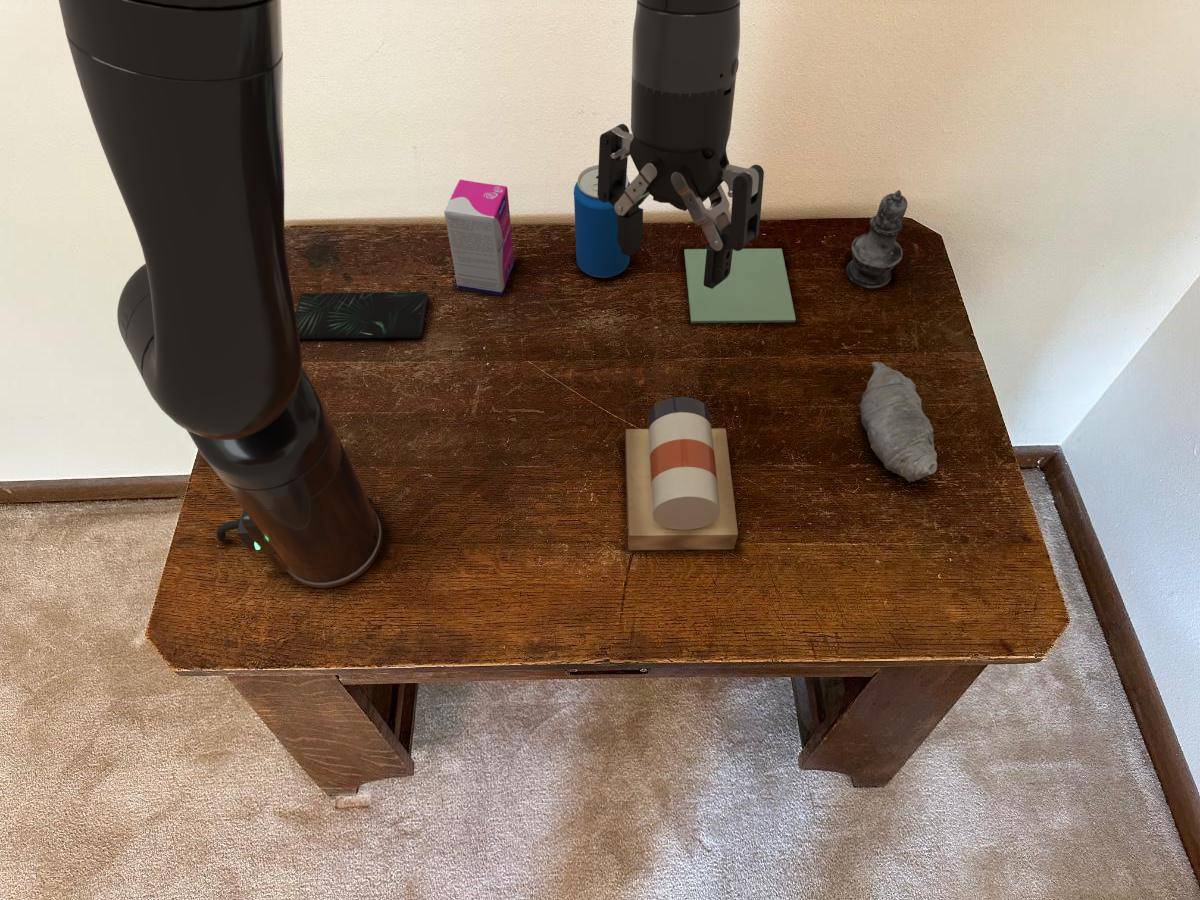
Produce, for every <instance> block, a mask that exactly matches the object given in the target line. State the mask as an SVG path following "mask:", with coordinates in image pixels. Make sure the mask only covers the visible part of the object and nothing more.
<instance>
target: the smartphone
mask: <svg viewBox="0 0 1200 900" xmlns="http://www.w3.org/2000/svg"><path fill="white" fill-rule="evenodd" d="M428 301H429V293H428V292H427V291H389V292H388V291H379V292H377V291H376V292H375V291H374V292H373V291H372V292H370V291H369V292H314V293H313V292H312V293H310V292H309V293H307V292H306V293H305V292H304V293H301V294H300V296H299V299H298V303H297V306H296V310H295V316H296V322H297V327H298V333H299V339H300V340H328V339H329V340H331V339H333V340H334V339H335V340H337V339H339V340H340V339H409V338H421V337H422V336H423V331H424V324H425V319H426V314H427V306H428Z"/></svg>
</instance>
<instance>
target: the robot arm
mask: <svg viewBox="0 0 1200 900" xmlns="http://www.w3.org/2000/svg"><path fill="white" fill-rule="evenodd" d="M58 4H59V8H60V9H59V10H60V13H61V17H62V22H63V28H64V31H65V36H66V40H67V43H68V46H69V47H68V48H69V51H70V54H71V57H72V61H73V65H74V67H75V72H76V74H77V75H76V76H77V77H78V81H79V85H80V87H81V90H82V95H83V97H84V100H85V102H86V107H87V108H88V112H89V114H90V118H91V121H92V123H93V126H94V129H95V132H96V134H97V137H98V140H99V143H100V146H101V148H102V150H103V153H104V156H105V158H106V160H107V163H108V166H109V169H110V170H111V173H112V176H113V178H114V180H115V183H116V185H117V187H118V190H119V193H120V196H121V197H122V200H123V202H124V204H125V205H124V206H125V207H126V209H127V212H128V214H129V216H130V219H131V222H132V225H133V227H134V230H135V233H136V235H137V238H138V241H139V244H140V247H141V250H142V254H143V259H144V262H145V263H144V264H142V265H141V266H140V267H139V268H138V269H136V271H135V272H134V273H133V274H132V275H131V276H130V277H129V279H128V280H127V281H126V284H125V285H124V287H123V288H122V291H121V293H120V295H119V299H118V303H117V310H116V311H117V313H116V316H117V327H118V330H119V333H120V337H121V338H122V341H123V342H124V345H125V347H126V348H127V351H128V352H129V354H130V356H131V358H132V360H133V362H134V365H135V367H136V368H137V371H138V372H139V375H140V377H141V379H142V380H143V382H144V384H145V387H146V389H147V391H148V393H149V395H150V396H151V398H152V399H153V400H154V402H155V403H156V405H157V407H159V409H160V410H161V411H162V412H163V413H164V414H165V415H167V416H168V417H169V418H170V419H171V420H172V421H173V422H174V423H175V424H176V425H178V426H180V427H181V428H182V429H185V430H186V432H187V433H188V436H189V437H190V438H191V441H193V443H194V445H195V446H196V448H197V450H198V451H199V453H200V455H201V456H202V458H203V459H204V460H205V462H206V463H207V464H208V466H209V467H210V468H211V469H212V471H213V472H214V474H215V475H216V476H217V478H219V480H220V481H221V483H222V484H223V485H224V487H225V488H226V489H227V491H228V492H229V493H230V494H231V495H232V497H233V498H234V500H235V501H236V503H237V504H238V505H239V507H240V508H241V509H242V512H241V516H240V519H235V520H231V521H227V522H225V523H223V524H221V525H219V526H218V528H217V529H216V539H217V541H218V542H224V541H225V540H226V538H227V535H226V532H228V531H231V530H235V529H237V530H236V535H237V536H238V538H240V540H241V541H242V542H243V544H244V545H245V546H246V547H247V548H248V550H256V551H258V550H261V551H262V553H263V554H264V555H265V557H266V558H267V559H268V561H269V562H270V563H271V565H272V566H273V567H274V568H275V569H276V571H277V572H278V573H279V574H289V575H290V576H291V577H292V578H293V579H294V580H296V582H298V583H300V584H302V585H304V586H307V587H311V588H316V589H331V588H336V587H341V586H344V585H346V584H349V583H350V582H353V581H354V580H356V579H357V578H359V577H360V576H362V575H363V574H364V573H365V572H367V570H369V568H371V566H372V565H373V564H374V562H375V561H376V559H377V558H378V556H379V554H380V552H381V549H382V547H383V540H384V532H383V526H382V523H381V521H380V519H379V516H378V514H377V513H376V511H375V510H374V509H373V507H372V506H374V507H375V508H376V507H377V506H376V505H375V502H374V500H372V499H371V498H370V497H369V496H368V495H367V493H366V492H365V490H364V487H363V485H362V484H361V483H362V482H361V481H360V479H359V477H358V475H357V473H356V471H355V468H354V467H353V465H352V463H351V460H350V458H349V456H348V454H347V452H346V450H345V447H344V445H343V443H342V442H341V440H340V437H339V435H338V434H337V431H336V429H335V427H334V425H333V422H332V421H331V419H330V417H329V415H328V413H327V410H326V409H325V405H324V404H323V402H322V399H321V398H320V396H319V394H318V392H317V390H316V389H315V387H314V385H313V384H312V382H311V380H310V378H309V377H308V375H307V373H306V371H305V370H304V368H303V352H302V345H301V339H299V333H298V327H297V322H296V316H295V313H296V310H295V306H294V299H293V292H292V287H291V280H290V275H289V267H288V259H287V258H288V257H287V248H286V247H287V246H286V235H285V234H286V233H285V144H284V143H285V141H284V140H285V139H284V112H283V105H284V104H283V101H284V100H283V90H284V89H283V88H284V87H283V86H284V85H283V84H284V83H283V82H284V76H283V75H284V51H283V50H284V48H283V47H284V46H283V17H282V16H283V15H282V0H58ZM631 42H632V48H631V49H632V51H631V52H632V53H631V59H632V60H631V92H630V93H631V95H630V101H631V102H630V129H629V127H628V126H627V124H625V123H620V124H618V125H616V126H615V127H613V128H610V129H609V130H607V131H605V132H603V133H601V134H600V136H599V145H598V146H599V147H598V165H599V168H598V192H597V195H598V198H599V200H600V201H601V202H603V203H606V202H609V203H610V204H612V205H613V206H614V209H615V212H616V213H617V214H618V237H617V240H618V243H619V246H621V253H622V254H625V255H627V256H630V257H631V256H633V255H634V254H635V253H637V252H638V251H640V250H641V248H642V245H643V230H644V229H643V227H644V226H643V225H644V220H643V219H644V208H643V207H642V208H641V207H640V206H641V205H642V204H643V202H644V201H645V200H646V199H647V198H648V197H649V196H651V197H652V200H653V201H655V202H658V203H661V204H669V205H671V206H672V207H674V208H676V209H678V210H680V211H684V212H686V211H688V214H689V215H690V218H691V219H692V221H693V223H694V225H695V226H696V227H699V228H701V230H702V232H703V235H704V237H705V238H706V240H707V242H708V244H709V246H708V247H706V249H707V252H706V263H705V273H704V286H706V287H708V288H711V289H713V288H714V287H715V286H717V285H718V284H720V283H721V282H722V281H723V280H725V279H726V278H727V277H728V275H729V274H730V269H731V261H732V253H733V249H734V250H735V251H740V250H742V249H745V247H746V246H748V245H749V244H750V243H751V242H753V241H754V240H756V239H757V238H758V237H759V235H760V226H761V215H762V213H761V212H762V201H763V192H764V191H763V190H764V178H765V172H764V169H763V167H762V166H761V165H759V164H752V165H751V166H750V167H748V168H746V167H742V166H738V165H734V164H731V163H730V161H729V159H728V153H727V146H728V142H729V138H730V135H731V131H732V130H731V129H732V120H733V119H732V118H733V110H734V100H735V92H736V82H737V73H738V69H739V64H740V62H739V61H740V60H739V54H740V53H739V52H740V43H741V0H636V9H635V15H634V22H633V31H632V41H631ZM630 130H631V133H630ZM629 156H630V158H631V160H632V162H633V164H634V166H635V168H636V170H637V172H638V174H637V175H636V176H635V178H634V179H633V180H632V181H631V182H630V185H629V186H628V187H627V188H626V176H627V177H628V175H627V173H628V160H629ZM722 183H725V184H726V186H727V189H728V190H727V195H726V193H725V191H724V189H723V187H722ZM727 196H728V197H729V198H731V213H730V201H729V199H728V197H727ZM707 199H709V202H710V206H709V207H708V208H706V206H705V204H704V202H705V201H707Z"/></svg>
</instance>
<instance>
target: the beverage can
mask: <svg viewBox="0 0 1200 900" xmlns="http://www.w3.org/2000/svg"><path fill="white" fill-rule="evenodd" d="M598 168H599V164H596V165H591V166H589V167H587V168H585V169H583V170H582V171H581V172H580V174H578V176H577V181H576V182H575V184H574V187H573V206H574V231H575V233H574V234H575V255H576V256H575V257H576V264H577V266H578V267H579V269H580V270H581V271H582V272H583V273H585V274H587V275H589V276H591V277H595V278H603V279H604V278H605V279H606V278H610V277H615V276H617V275H620V274H621V273H623V272H624V271H625V270H626V269H627V268H628V266H629V265H630V260H631V256H627V255H625V254H622V253H621V246H619V243H618V240H617V237H618V214H617V213H616V212H615V209H614V206H613V205H612V204H610V203H609V202H606V203H603V202H601V201H600V200H599V198H598V195H597V192H598ZM630 184H631V182H630V181H629V177H628V175H627V176H626V188H627V187H628V186H629V185H630Z"/></svg>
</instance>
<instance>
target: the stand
mask: <svg viewBox="0 0 1200 900" xmlns="http://www.w3.org/2000/svg"><path fill="white" fill-rule="evenodd" d="M624 435H625V436H624V437H625V438H624V439H625V440H624V451H625V452H624V454H625V455H624V457H625V458H624V459H625V489H626V490H625V491H626V522H627V524H626V525H627V526H626V527H627V550H628V551H685V550H687V551H688V550H689V551H690V550H691V551H695V550H696V551H697V550H699V551H701V550H702V551H703V550H705V551H706V550H734V549H735V547H736V543H737V539H738V537H739V528H738V520H737V513H736V503H735V494H734V486H733V479H732V478H733V477H732V471H731V470H732V469H731V462H730V453H729V445H728V437H727V436H728V435H727V429H726V428H725V427H724V428H723V427H722V428H721V427H719V428H717V427H715V428H712V437H713V446H714V453H715V462H716V471H717V481H718V483H717V484H718V493H719V503H720V515H719V517H718V518H717V519H716V520H715V521H714V522H712V523H711V524H709V525H707V526H704V527H701V528H697V529H690V530H676V529H670V528H666V527H663V526H661V525H659V524H658V523H657V522H656V521H655V520H654V519H653V516H652V497H651V484H650V464H649V438H648V428H626V429H625V434H624Z"/></svg>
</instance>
